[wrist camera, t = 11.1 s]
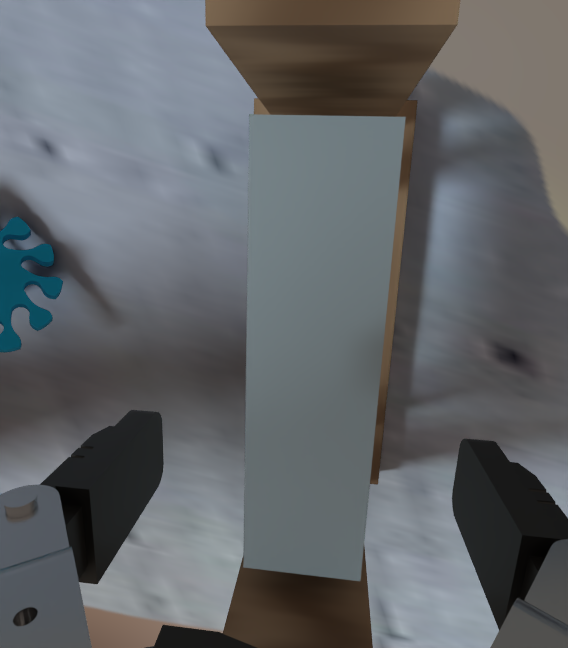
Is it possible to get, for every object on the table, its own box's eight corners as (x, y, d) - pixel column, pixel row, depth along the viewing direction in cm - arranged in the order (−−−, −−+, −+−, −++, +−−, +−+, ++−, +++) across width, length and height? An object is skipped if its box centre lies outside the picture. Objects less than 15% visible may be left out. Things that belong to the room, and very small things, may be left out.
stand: (252, 460, 33) (173, 698, 17) (258, 104, 27) (143, -46, 11) (376, 471, 32) (415, 734, 16) (412, 106, 26) (536, -54, 10)
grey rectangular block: (266, 131, 18) (249, 114, 15) (391, 134, 17) (405, 116, 14) (257, 512, 23) (243, 567, 19) (356, 522, 22) (360, 581, 19)
